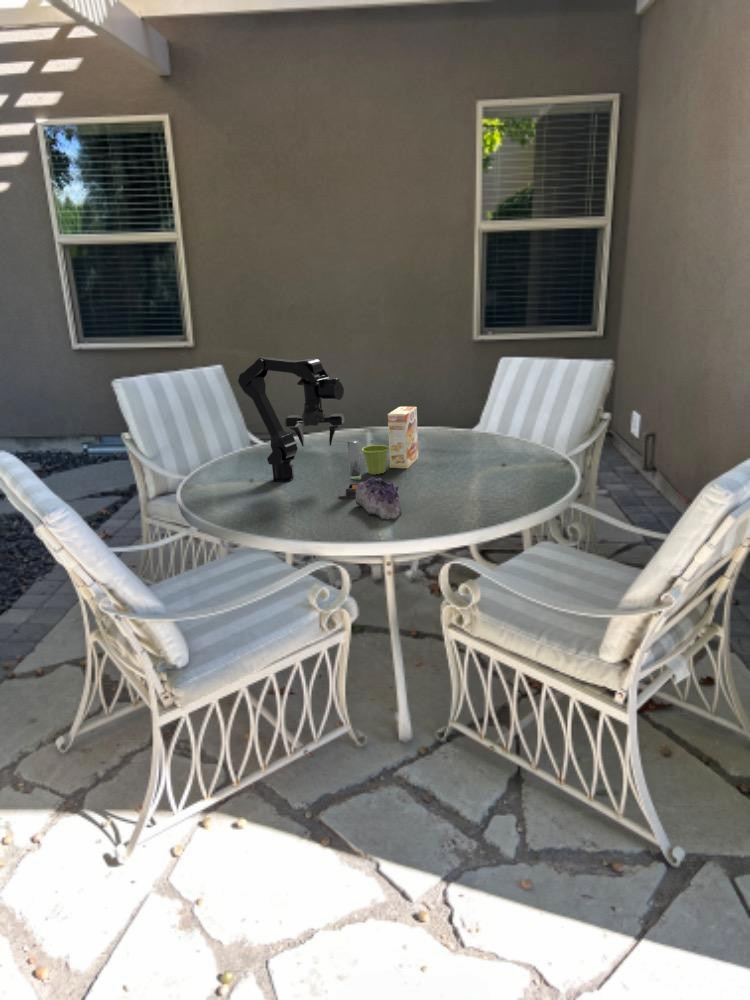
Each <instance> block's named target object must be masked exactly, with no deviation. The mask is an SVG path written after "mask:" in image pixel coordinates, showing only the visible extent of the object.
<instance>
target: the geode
mask: <svg viewBox="0 0 750 1000" xmlns="http://www.w3.org/2000/svg"><path fill="white" fill-rule="evenodd" d="M357 484H358V485H357V490H356V491H355V492H356V498H355V504H356V505H358V506H361V507H363V510H364V511H365V512H366V513H367V515H371V516H372V515H373V516H378V518H380V520H381V521H390V520H391V521H397V520H398V519H399V518H400V516H401V515H402V513H403V511H402V507H401V505H402V504H401V499H400V495H399V494H398V491H399V485H397V486H395V484H394V482H388V481H386V480H384V479H382V478H381V477H379V478H375V477H369V478H368V479H367V480H366V481H360V482H358V483H357Z"/></svg>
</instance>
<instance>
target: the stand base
mask: <svg viewBox="0 0 750 1000" xmlns="http://www.w3.org/2000/svg"><path fill="white" fill-rule="evenodd" d="M357 485H358V483H348V484H347V486H342V488H341V490H340V492H339V494H338V496H337V497H338V499H341V500H342V499H356V492H355V491H356V490H357Z"/></svg>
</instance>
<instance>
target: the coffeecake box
mask: <svg viewBox="0 0 750 1000" xmlns="http://www.w3.org/2000/svg"><path fill="white" fill-rule="evenodd" d="M387 431H388V433H387V434H388V447H389V450H388V454H389V468H391V469H393V468H394V469H409V468H410V467H411V466H412V465H413V464H414V463H415V462H416V461H417V460H418V459H419V446H418V445H419V441H418V440H419V438H418V407H417V406H398V407H397V408H395V409H393V410H392V411H391V412H389V413H387Z"/></svg>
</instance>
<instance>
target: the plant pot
mask: <svg viewBox="0 0 750 1000" xmlns="http://www.w3.org/2000/svg"><path fill="white" fill-rule="evenodd" d="M361 451H362V453H363V456H364V459H365V464H366V468H367V473H368V474H370V475H376V474H378V475H380V474H385V473H386V469H387V459H388V458H387V457H388V454H389V445H388V446H387V445H382V444H381V445H380V444H379V445H377V444H376V445H375V444H374V445H368V446H364V447H362V448H361ZM384 472H385V473H384Z"/></svg>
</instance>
